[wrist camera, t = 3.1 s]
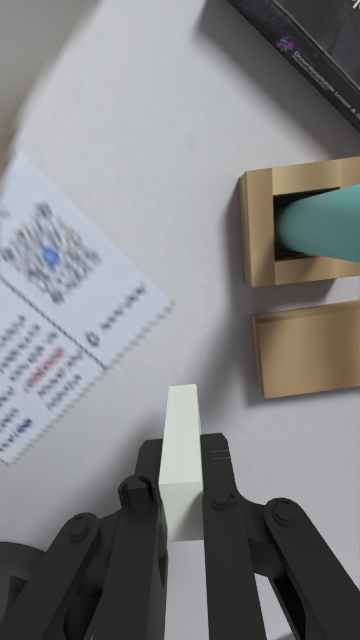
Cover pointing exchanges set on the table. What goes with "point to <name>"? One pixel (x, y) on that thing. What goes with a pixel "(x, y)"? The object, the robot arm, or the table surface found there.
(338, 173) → the socket block
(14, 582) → the robot arm
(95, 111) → the table surface
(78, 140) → the table surface
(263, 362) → the tan block
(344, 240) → the dowel
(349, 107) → the box
